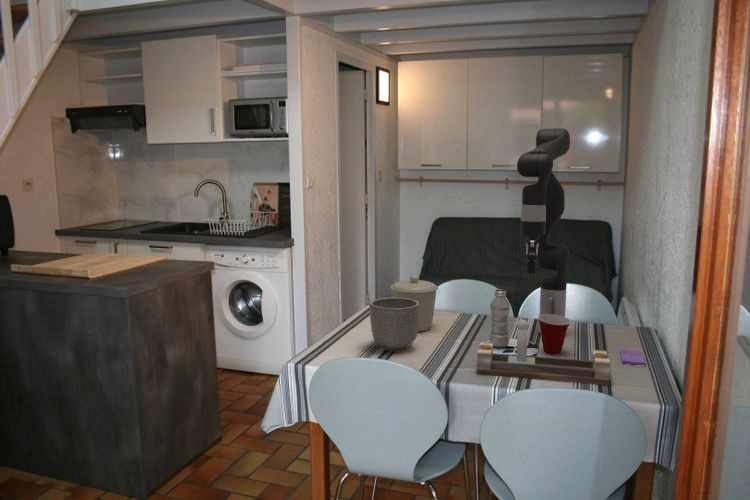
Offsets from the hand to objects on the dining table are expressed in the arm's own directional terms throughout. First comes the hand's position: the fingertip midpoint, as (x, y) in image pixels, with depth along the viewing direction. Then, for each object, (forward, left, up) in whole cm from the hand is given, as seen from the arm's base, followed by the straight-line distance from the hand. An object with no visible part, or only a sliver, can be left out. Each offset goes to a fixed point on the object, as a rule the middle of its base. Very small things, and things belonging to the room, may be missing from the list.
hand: (531, 270), depth 193 cm
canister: (-30, -43, -30) cm, 61 cm away
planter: (-5, -45, -30) cm, 54 cm away
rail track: (+8, +4, -30) cm, 31 cm away
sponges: (-12, +33, -31) cm, 47 cm away
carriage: (+8, -2, -28) cm, 30 cm away
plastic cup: (-13, +8, -30) cm, 34 cm away
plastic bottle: (-15, -10, -30) cm, 35 cm away
